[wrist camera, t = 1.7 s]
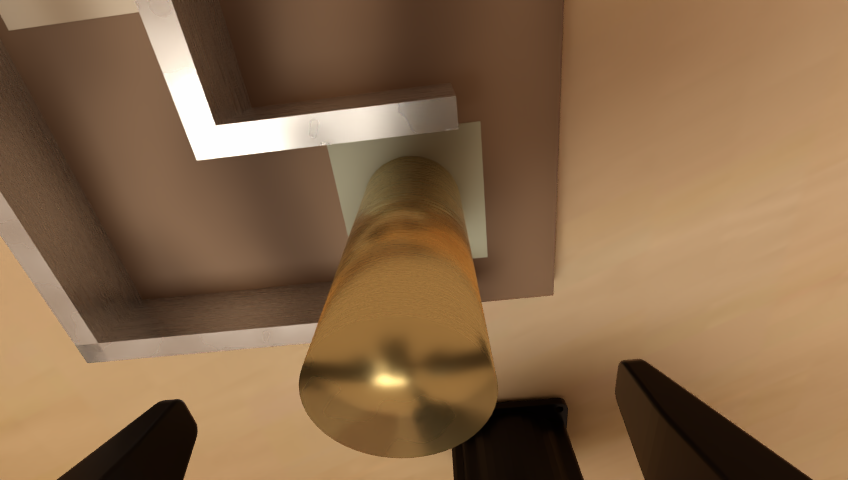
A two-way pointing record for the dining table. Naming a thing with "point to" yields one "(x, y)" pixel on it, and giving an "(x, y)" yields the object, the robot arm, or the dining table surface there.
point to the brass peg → (403, 324)
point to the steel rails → (210, 138)
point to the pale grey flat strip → (311, 166)
